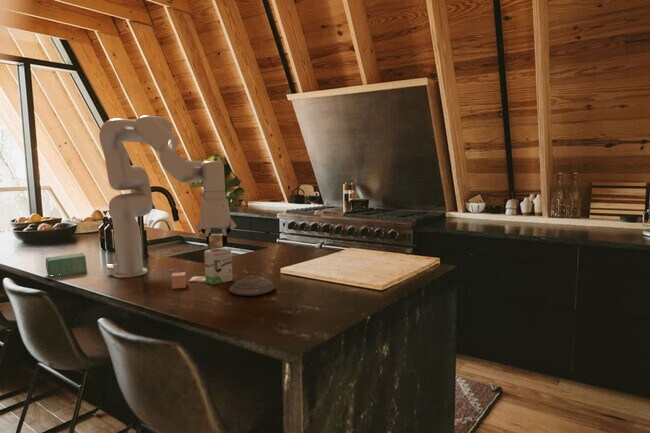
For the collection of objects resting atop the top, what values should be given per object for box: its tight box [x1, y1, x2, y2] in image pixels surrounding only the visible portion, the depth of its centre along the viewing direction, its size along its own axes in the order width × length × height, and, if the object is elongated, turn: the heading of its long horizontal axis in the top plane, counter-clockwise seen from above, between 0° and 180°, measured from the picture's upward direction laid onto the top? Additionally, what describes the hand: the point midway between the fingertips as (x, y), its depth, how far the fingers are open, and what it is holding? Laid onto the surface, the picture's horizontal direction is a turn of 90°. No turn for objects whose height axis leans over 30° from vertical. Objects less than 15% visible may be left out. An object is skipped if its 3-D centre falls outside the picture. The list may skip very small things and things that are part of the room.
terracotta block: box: [171, 271, 187, 289], centre depth 164 cm, size 4×4×4 cm
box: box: [45, 252, 88, 279], centre depth 187 cm, size 7×14×8 cm, turn 126°
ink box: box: [203, 247, 233, 285], centre depth 169 cm, size 9×5×12 cm, turn 136°
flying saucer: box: [228, 275, 276, 297], centre depth 156 cm, size 15×15×6 cm
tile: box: [188, 275, 206, 283], centre depth 173 cm, size 6×6×1 cm
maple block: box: [208, 233, 224, 250], centre depth 168 cm, size 4×4×4 cm
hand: (217, 246), depth 168 cm, fingers closed on maple block, 4 cm apart
